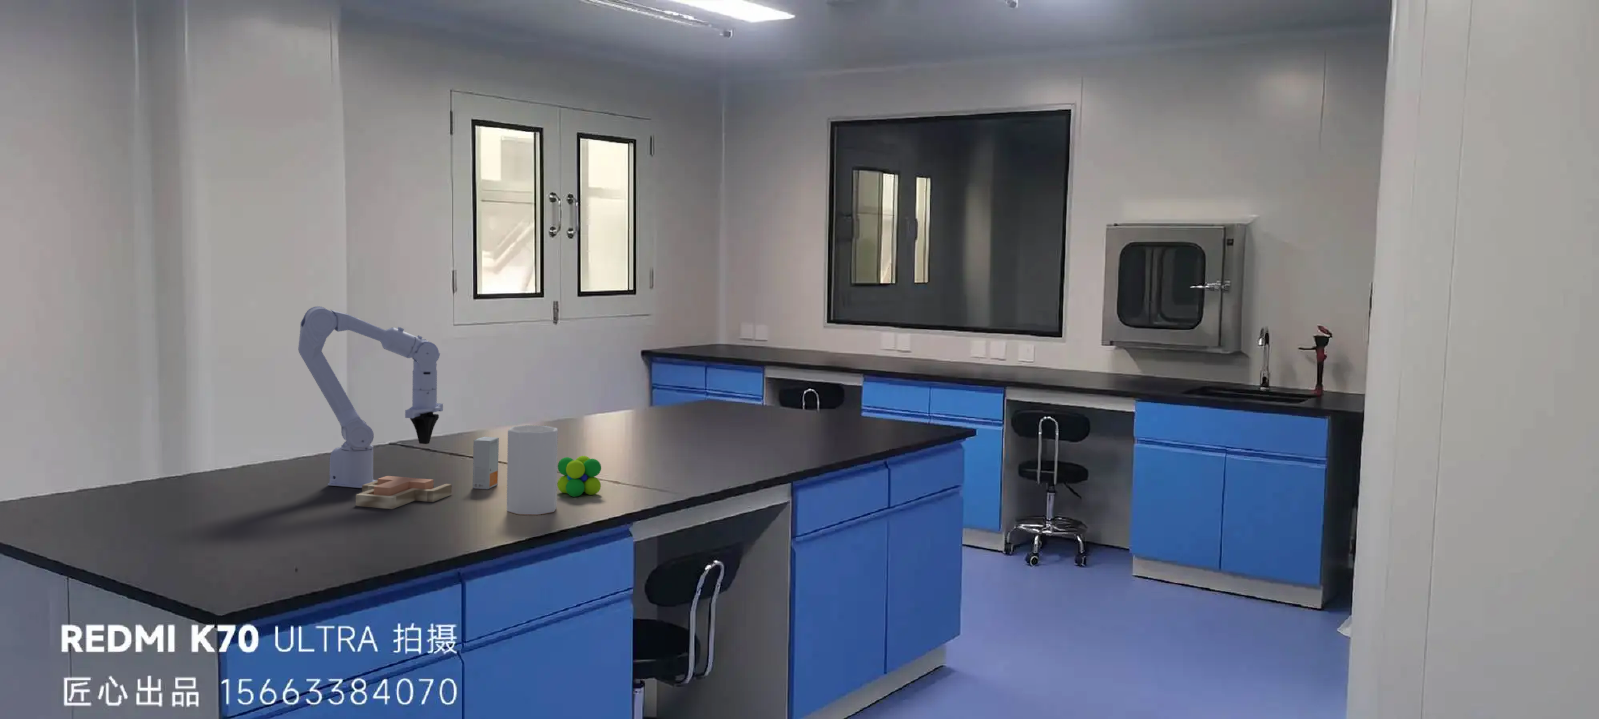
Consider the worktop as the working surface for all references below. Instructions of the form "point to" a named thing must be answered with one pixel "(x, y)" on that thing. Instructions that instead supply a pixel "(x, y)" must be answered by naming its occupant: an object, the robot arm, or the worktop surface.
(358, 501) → the nest
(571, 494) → the molecule model
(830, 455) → the worktop surface
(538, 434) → the cup
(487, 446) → the skincare box
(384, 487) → the tee
